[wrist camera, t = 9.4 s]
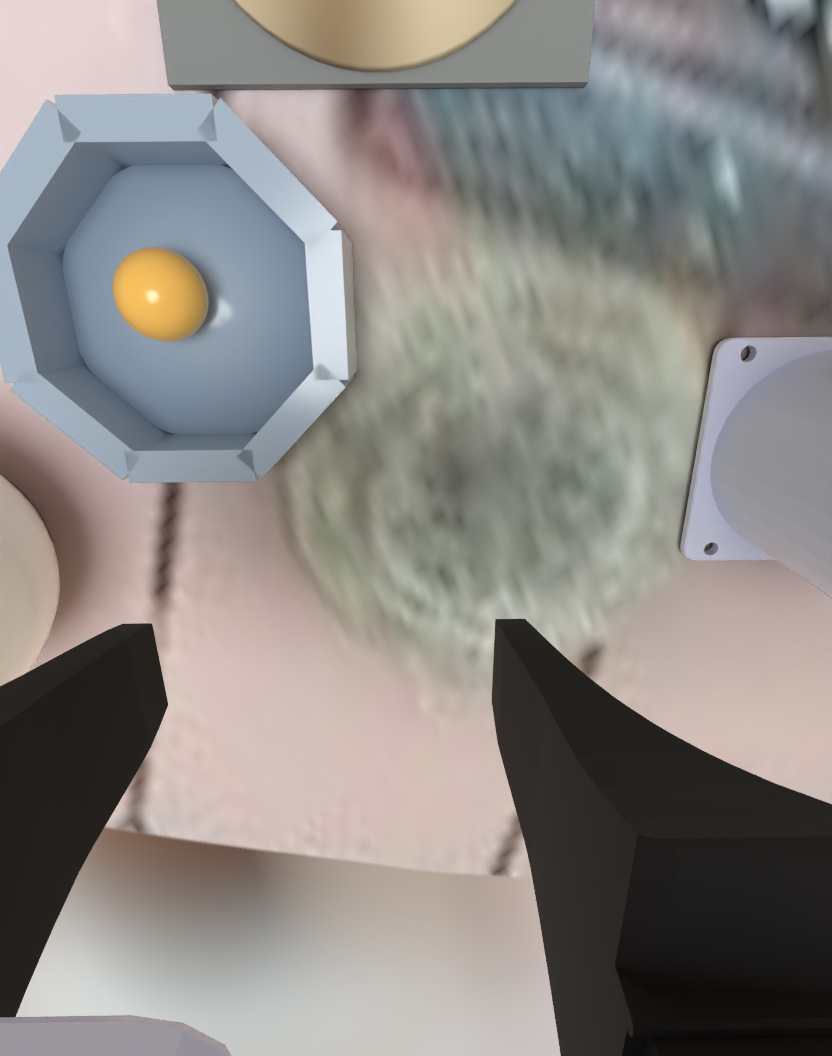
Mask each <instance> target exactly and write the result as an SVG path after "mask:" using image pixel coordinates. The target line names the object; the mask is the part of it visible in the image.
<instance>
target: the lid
mask: <svg viewBox="0 0 832 1056" xmlns="http://www.w3.org/2000/svg"><path fill="white" fill-rule="evenodd" d="M233 1H234V2H235V3H236V4H237V5H238V6H239V7H240V9H241V10H242V11H243V12H244V13H245V14H246V15H247V16H248V17H249V18H251V19H252V20H253V21H254V22H255V23H256V24H257V25H259V26H260V27H261V28H262V29H263V30H264V31H265V32H267V33H268V34H269V35H271V36H272V37H274V38H275V39H277V40H278V41H280V42H281V43H283V44H284V45H286V46H287V47H289V48H290V49H292V50H294V51H296V52H298V53H300V54H302V55H304V56H307V57H309V58H311V59H313V60H315V61H318V62H321V63H324V64H327V65H330V66H334V67H337V68H340V69H346V70H353V71H359V72H395V71H401V70H407V69H413V68H417V67H420V66H423V65H426V64H429V63H432V62H435V61H438V60H441V59H443V58H445V57H447V56H449V55H451V54H453V53H455V52H456V51H458V50H460V49H462V48H464V47H466V46H467V45H468V44H470V43H471V42H473V41H474V40H475V39H477V38H478V37H480V36H481V35H482V34H484V33H485V32H487V31H488V30H489V29H490V28H491V27H492V26H493V25H494V24H495V23H496V22H497V21H498V20H499V19H501V18H502V17H503V16H504V15H505V14H506V13H507V12H508V11H509V10H510V8H511V7H512V6H513V5H514V4H515V2H516V1H517V0H233Z"/></svg>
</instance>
